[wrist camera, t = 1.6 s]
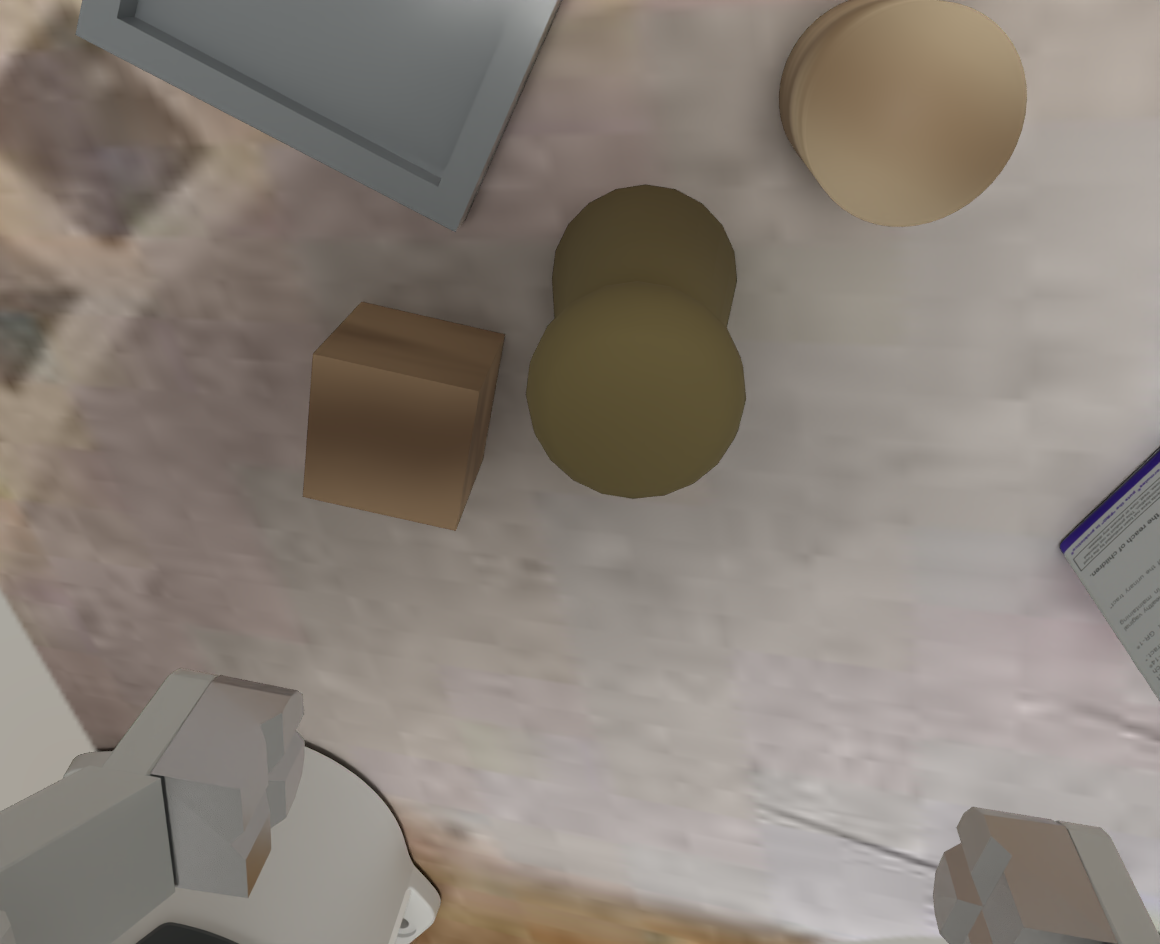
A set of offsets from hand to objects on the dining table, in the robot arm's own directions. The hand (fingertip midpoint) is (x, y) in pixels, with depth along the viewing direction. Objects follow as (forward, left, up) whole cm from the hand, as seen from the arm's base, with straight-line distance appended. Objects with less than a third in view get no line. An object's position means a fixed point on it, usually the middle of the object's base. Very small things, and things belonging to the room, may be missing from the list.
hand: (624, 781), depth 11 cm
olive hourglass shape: (0, 0, -22) cm, 22 cm away
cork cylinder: (+8, -3, -21) cm, 23 cm away
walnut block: (-7, +5, -22) cm, 23 cm away
